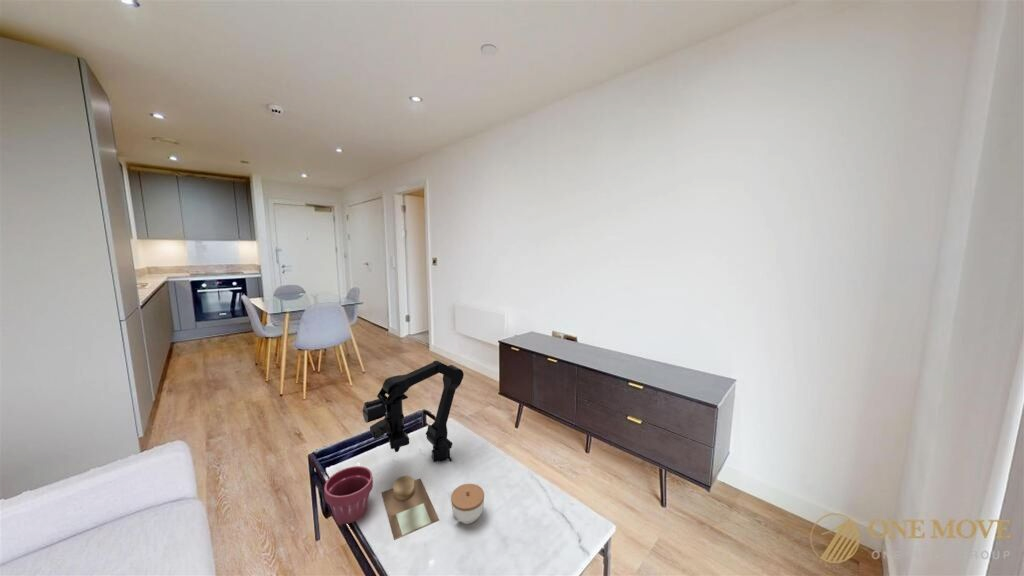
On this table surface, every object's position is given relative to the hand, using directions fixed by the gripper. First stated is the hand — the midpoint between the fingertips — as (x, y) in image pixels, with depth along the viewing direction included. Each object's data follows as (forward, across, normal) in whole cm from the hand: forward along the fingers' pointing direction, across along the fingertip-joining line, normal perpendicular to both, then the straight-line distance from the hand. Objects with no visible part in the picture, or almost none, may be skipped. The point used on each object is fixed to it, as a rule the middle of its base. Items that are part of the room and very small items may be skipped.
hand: (396, 451), depth 124 cm
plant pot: (+12, +9, -17) cm, 23 cm away
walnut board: (+12, +16, +1) cm, 20 cm away
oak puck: (+11, +9, 0) cm, 14 cm away
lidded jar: (+12, +28, +17) cm, 35 cm away
